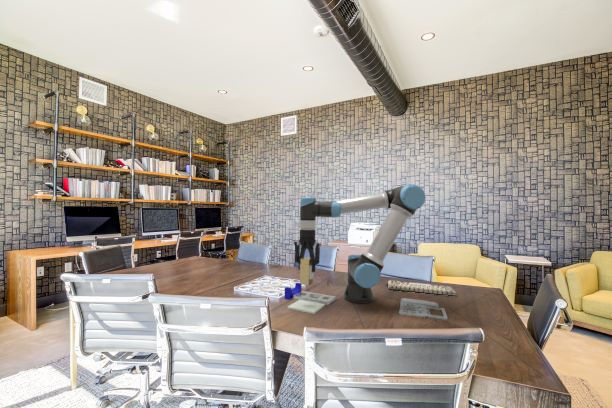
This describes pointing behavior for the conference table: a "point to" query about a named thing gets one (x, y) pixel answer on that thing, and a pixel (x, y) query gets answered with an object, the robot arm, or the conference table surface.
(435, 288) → the mechanical keyboard
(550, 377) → the conference table surface
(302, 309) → the sage pad
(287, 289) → the cable clip
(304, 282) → the tan rectangular block
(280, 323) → the conference table surface
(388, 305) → the conference table surface
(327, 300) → the grey plate with holes
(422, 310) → the grey flat slab
